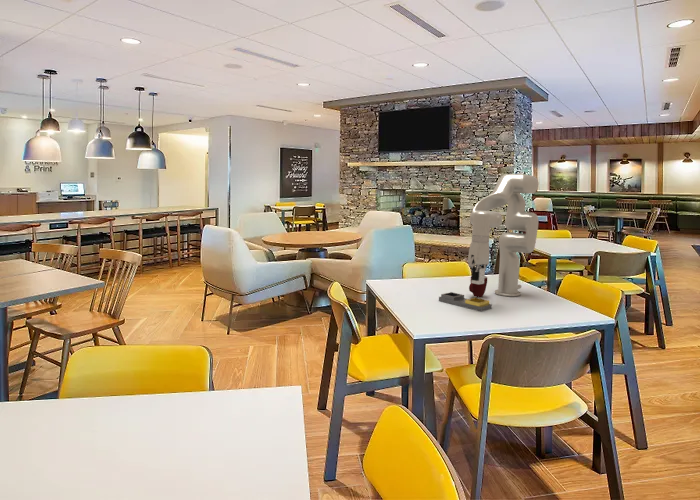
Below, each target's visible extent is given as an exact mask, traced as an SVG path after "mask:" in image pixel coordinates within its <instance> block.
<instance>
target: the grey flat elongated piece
mask: <svg viewBox="0 0 700 500" xmlns="http://www.w3.org/2000/svg"><path fill="white" fill-rule="evenodd" d="M438 301H439V302H441V303H445V304H450V305H453V306H458V307H461V308H466V309H469V310H474V311H476V312H477V311H478V312H485V311H488V310H492V307H493V304H492V303H490V300H488V299H483V298H481V297H473V298H465V295H464V294H462V293H456V292H452V291H450V292H445V293H441V294H440V296H438Z"/></svg>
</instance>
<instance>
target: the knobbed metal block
mask: <svg viewBox="0 0 700 500" xmlns="http://www.w3.org/2000/svg"><path fill="white" fill-rule="evenodd" d="M481 267H482V266H480V265H479V267H478V272H479V275H478V281H475V280H472V281H471V280H470V284H471V283H474V284H484V277H485V276H486V275H485V274H486V271H485V268H481ZM475 268H476V266H475Z"/></svg>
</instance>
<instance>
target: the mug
mask: <svg viewBox="0 0 700 500" xmlns="http://www.w3.org/2000/svg"><path fill="white" fill-rule="evenodd" d="M471 281H472V275H471V276H470V284H469V286H468V291H469V292H470V293H472V294H473V298H482V297H483V296H484V295H485V294H486V293H485V292H486V290H487V284H488V276H486V275H485V278H484V284H474V283H471Z"/></svg>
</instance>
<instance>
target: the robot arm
mask: <svg viewBox="0 0 700 500" xmlns="http://www.w3.org/2000/svg"><path fill="white" fill-rule="evenodd" d="M538 188H539V180H538V178H537V177H536V176H534V175H530V174H523V173H521V174H520V173H506V174H503V175H501V176H500V178H499V179H498V181H497V183H496V184H495V186H494V189H493V190H492V192H491V193H490V194H488V195H486V196H485V197H483V198H481V199H480V200H479V201H477V203H476V204H475V205H474V207H473V208H472V209H471V213H470V215H469V222H470V224H471V226H472V228H471V230H472V232H471V242H470V245H469V249H468V255H467V256H468V257H467V263H468V265H467V266H468V267H469V268H470V270H471V276H472V280H475V281H478V275H479V272H478V267H479V265H480V266H482V267H481V268H485V272H486V271H487V267H488V266H489V263H490V232H491V231H490V229H491V228H492V229H495V228H498V227H500V226H501V224H502V223H503V216H502V214H501V213H500V212H499V211H493V209H496V208H501V207H503V206H505V205H507V207H506V215H505V219H504V220H505V221H504V226H505V228H506V229H507V230H510V231H515V232H503V233H502V234H500V235H499V238H498V245H499V246H498V248H499V264H498V265H499V269H498V284H497V285H498V286H497V289H495V290H494V293H495V294H496V295H498V296H502V297H519V296H521V291H519V289H522V285H521V284H519V275H520V274H519V270H520V258H519V256H518V255H517V253H522V254H531V253H532V252H534V250H535V247H536V241H537V237H538V230H539V217H538V215H537V213H535V212H527V211H525V210H526V201H525V199H524V197H523V196H522V194H534V193H536V192H537V191H538ZM491 210H492V211H491ZM516 231H520V232H525V233H519V232H516ZM475 267H476V268H475ZM484 278H485V277H484Z"/></svg>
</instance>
